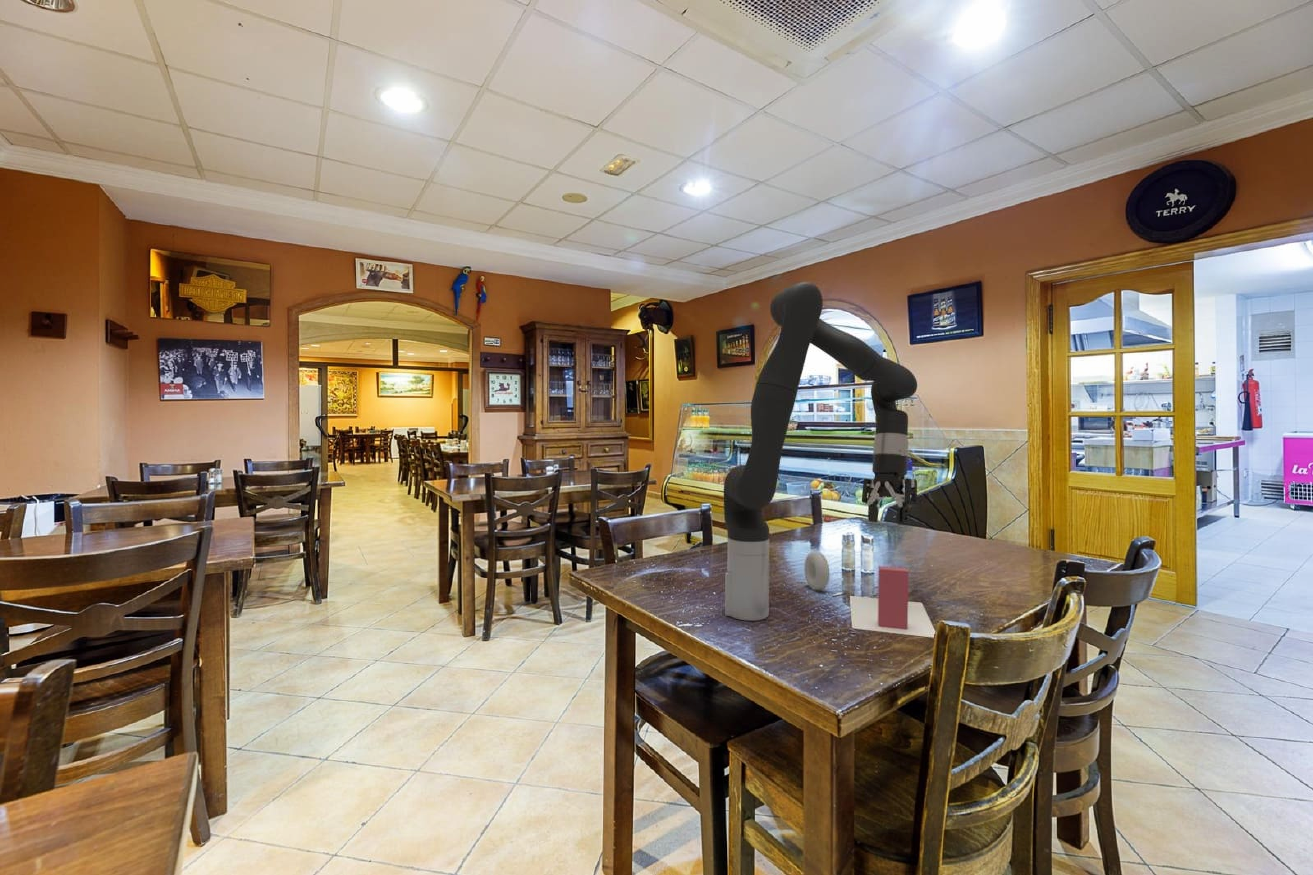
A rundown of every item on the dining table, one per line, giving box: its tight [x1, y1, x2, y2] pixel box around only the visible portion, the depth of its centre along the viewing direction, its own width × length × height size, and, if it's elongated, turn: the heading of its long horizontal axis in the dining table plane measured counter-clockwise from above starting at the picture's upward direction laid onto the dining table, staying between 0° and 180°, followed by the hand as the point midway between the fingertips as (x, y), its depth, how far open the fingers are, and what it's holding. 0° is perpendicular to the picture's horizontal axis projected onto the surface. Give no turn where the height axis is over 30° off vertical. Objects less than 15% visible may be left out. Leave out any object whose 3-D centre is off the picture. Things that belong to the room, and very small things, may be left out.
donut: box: [803, 550, 830, 592], centre depth 139 cm, size 10×4×10 cm, turn 9°
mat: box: [849, 595, 936, 639], centre depth 120 cm, size 16×22×1 cm
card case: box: [877, 565, 909, 630], centre depth 113 cm, size 6×3×12 cm, turn 72°
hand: (887, 523), depth 126 cm, fingers open, 8 cm apart
